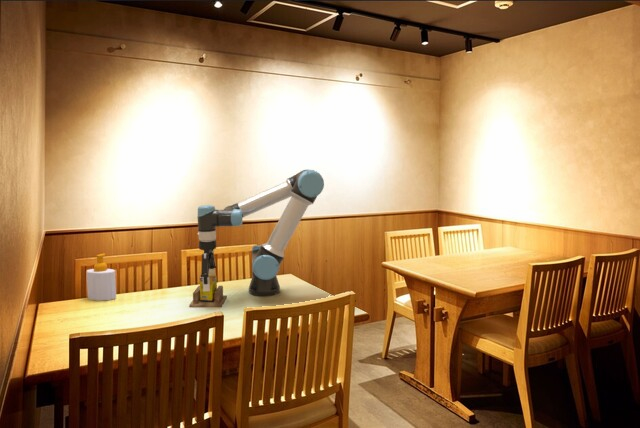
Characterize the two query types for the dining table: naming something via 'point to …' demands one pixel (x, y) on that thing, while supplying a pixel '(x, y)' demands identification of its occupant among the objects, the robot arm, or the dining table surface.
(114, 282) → the soap bottle
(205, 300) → the supplement box
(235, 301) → the dining table surface
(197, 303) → the slot block
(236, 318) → the dining table surface
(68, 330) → the dining table surface
